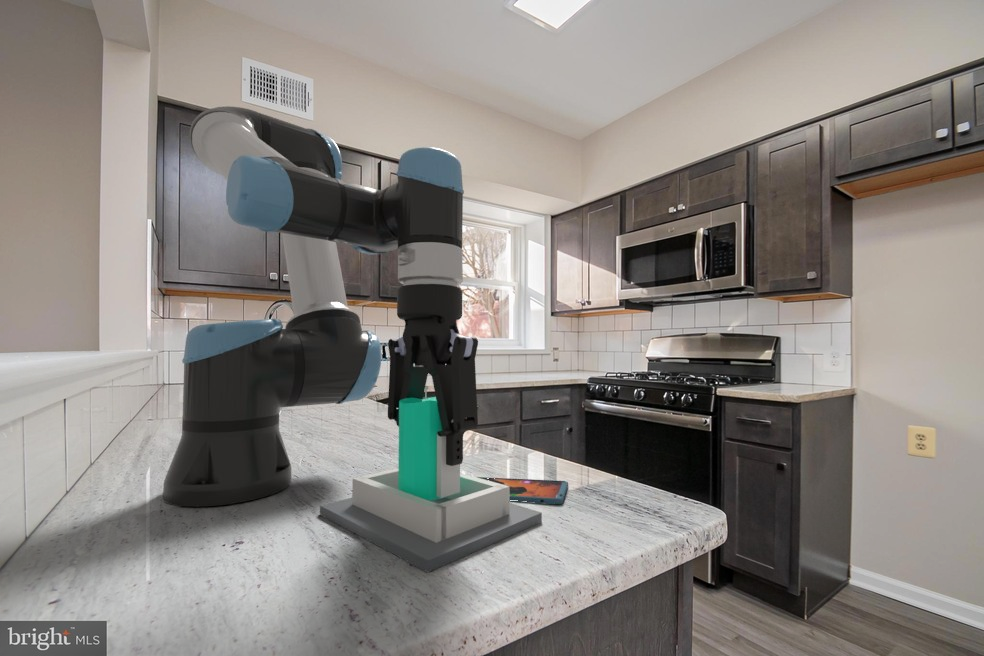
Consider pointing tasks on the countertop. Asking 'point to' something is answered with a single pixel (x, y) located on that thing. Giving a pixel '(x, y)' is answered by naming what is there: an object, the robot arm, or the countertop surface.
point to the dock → (430, 518)
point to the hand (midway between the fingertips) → (429, 487)
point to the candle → (418, 446)
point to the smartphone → (534, 489)
